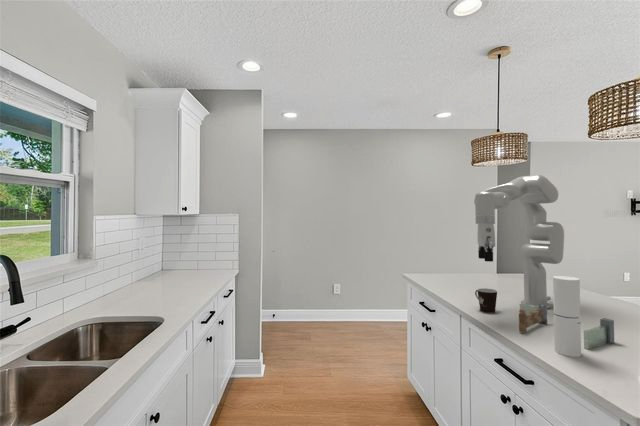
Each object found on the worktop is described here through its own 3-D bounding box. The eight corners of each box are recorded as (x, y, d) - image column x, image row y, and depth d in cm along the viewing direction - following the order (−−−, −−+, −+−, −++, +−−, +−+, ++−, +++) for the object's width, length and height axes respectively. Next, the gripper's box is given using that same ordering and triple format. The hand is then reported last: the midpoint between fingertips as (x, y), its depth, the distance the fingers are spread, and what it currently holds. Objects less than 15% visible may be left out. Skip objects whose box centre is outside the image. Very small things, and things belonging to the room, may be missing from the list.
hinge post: (522, 316, 146) (522, 299, 146) (548, 324, 136) (548, 305, 136) (518, 317, 145) (518, 299, 145) (544, 325, 135) (544, 305, 135)
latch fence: (604, 339, 119) (604, 318, 119) (614, 342, 116) (613, 320, 116) (581, 347, 112) (581, 324, 112) (591, 350, 110) (590, 326, 110)
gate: (538, 322, 137) (537, 301, 137) (543, 323, 135) (543, 302, 135) (518, 331, 127) (518, 309, 127) (524, 332, 125) (523, 310, 125)
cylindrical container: (549, 348, 112) (547, 276, 112) (568, 347, 113) (566, 275, 113) (566, 357, 105) (565, 280, 105) (587, 356, 106) (585, 279, 106)
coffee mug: (500, 314, 151) (499, 292, 151) (480, 313, 152) (480, 292, 152) (492, 307, 162) (491, 287, 162) (473, 306, 164) (473, 286, 164)
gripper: (501, 220, 131) (501, 262, 131) (488, 220, 148) (489, 257, 148) (481, 220, 133) (481, 262, 133) (471, 220, 150) (471, 257, 150)
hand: (485, 259), depth 140 cm, fingers open, 9 cm apart
